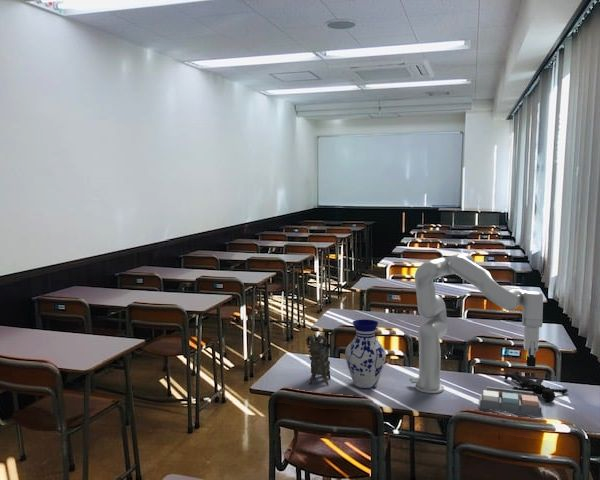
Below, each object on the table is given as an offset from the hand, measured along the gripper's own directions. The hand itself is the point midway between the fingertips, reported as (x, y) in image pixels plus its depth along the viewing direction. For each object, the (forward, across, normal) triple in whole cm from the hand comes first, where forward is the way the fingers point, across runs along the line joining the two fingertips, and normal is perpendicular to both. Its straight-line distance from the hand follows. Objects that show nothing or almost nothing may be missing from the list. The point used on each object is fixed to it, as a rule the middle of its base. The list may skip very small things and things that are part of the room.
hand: (530, 365), depth 208 cm
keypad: (+19, -2, -8) cm, 21 cm away
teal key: (+17, 0, -8) cm, 18 cm away
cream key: (+17, 0, -15) cm, 22 cm away
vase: (+19, -6, -71) cm, 73 cm away
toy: (+20, -24, +2) cm, 31 cm away
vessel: (+19, -4, -92) cm, 95 cm away
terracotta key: (+17, 0, 0) cm, 17 cm away
